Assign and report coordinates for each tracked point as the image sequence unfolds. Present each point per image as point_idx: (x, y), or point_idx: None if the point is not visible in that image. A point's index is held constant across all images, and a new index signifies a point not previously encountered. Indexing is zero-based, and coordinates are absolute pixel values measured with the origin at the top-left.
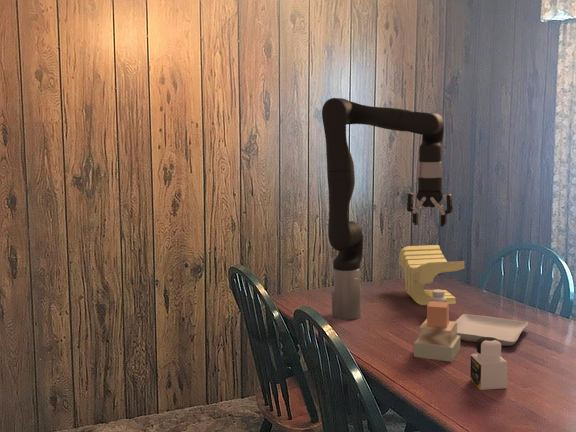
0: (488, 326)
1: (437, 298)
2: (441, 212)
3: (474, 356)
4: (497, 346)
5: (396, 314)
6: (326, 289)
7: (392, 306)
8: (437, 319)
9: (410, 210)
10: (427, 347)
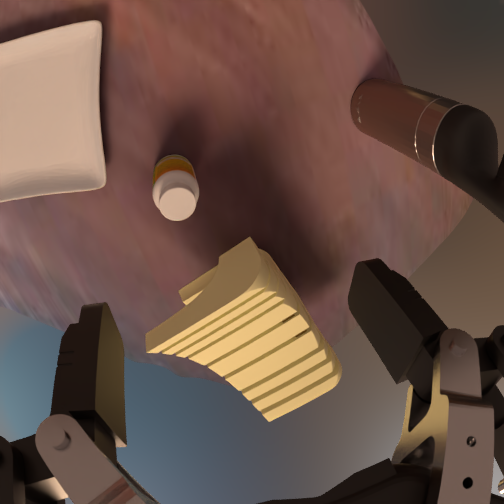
0: (41, 162)
1: (173, 180)
2: (80, 447)
3: None
4: None
5: (279, 158)
6: (424, 254)
7: (302, 211)
8: None
9: (490, 344)
10: None
